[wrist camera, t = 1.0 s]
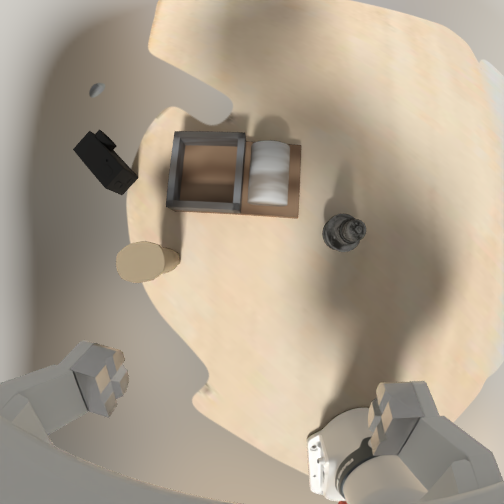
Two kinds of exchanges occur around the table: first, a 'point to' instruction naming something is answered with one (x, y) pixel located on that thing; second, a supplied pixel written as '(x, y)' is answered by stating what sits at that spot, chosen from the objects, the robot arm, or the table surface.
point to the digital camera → (105, 162)
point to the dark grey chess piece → (343, 232)
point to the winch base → (233, 175)
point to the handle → (145, 261)
